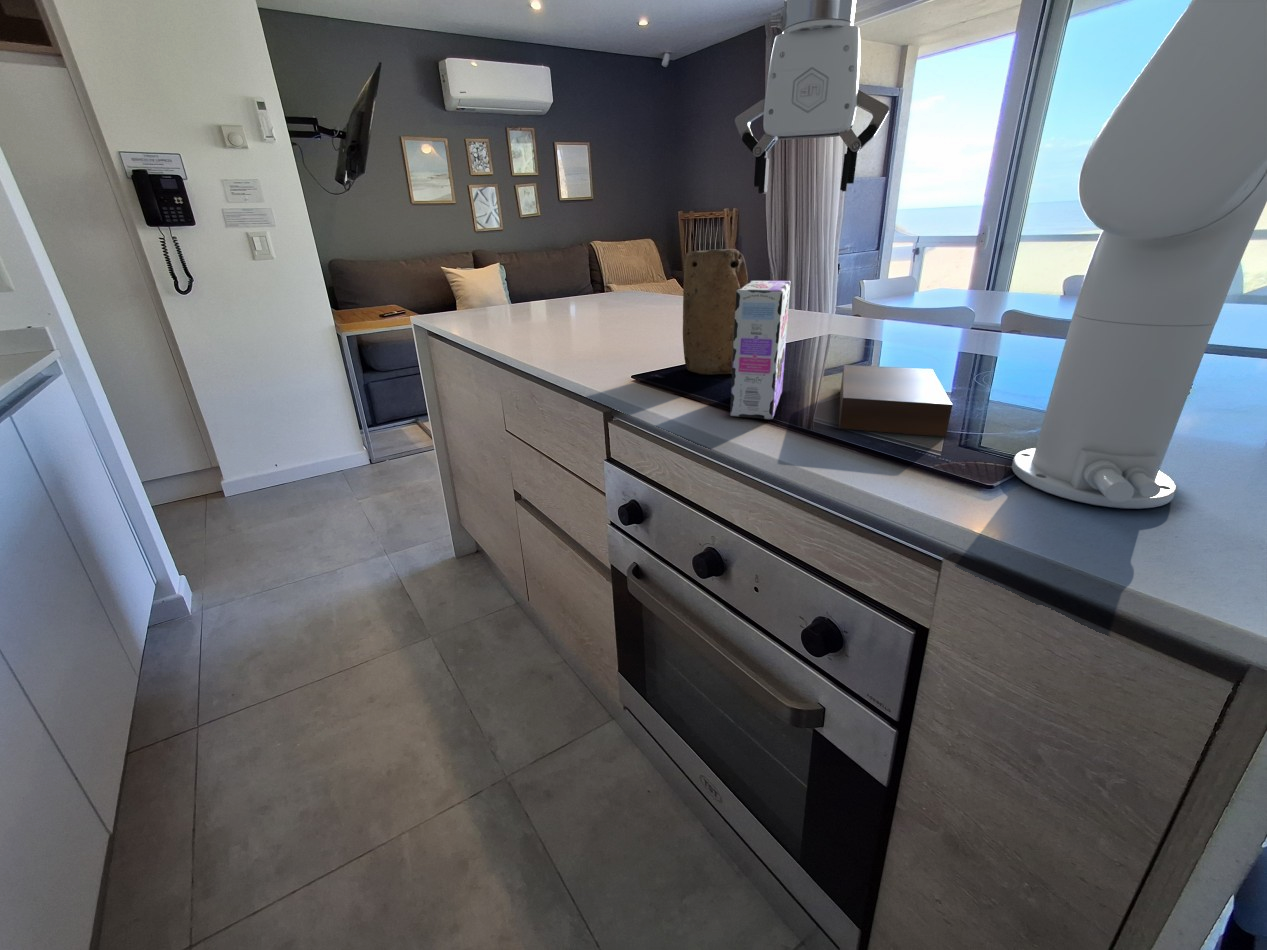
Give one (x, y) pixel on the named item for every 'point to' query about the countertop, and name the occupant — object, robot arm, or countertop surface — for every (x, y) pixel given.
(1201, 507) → the countertop surface
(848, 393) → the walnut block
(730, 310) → the block
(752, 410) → the candy box
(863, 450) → the countertop surface
